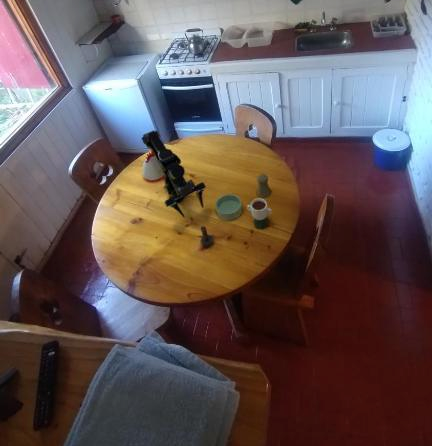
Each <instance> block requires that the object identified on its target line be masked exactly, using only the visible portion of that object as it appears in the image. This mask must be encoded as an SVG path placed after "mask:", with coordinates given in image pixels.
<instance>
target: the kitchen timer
mask: <svg viewBox="0 0 432 446" xmlns="http://www.w3.org/2000/svg"><path fill="white" fill-rule="evenodd" d="M141 167H142V176H143V179H144V181H146V182H148V183H157V182H160V181H162V180H165V175H164V173H163V171H162V169H161V167H160V165H159V163H158V161H157V159H156V157H155V155H154V153H153V151H152V150H150V152H148V153H146V156H145V159H144V161H143V163H142V164H141Z"/></svg>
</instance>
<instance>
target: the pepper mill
mask: <svg viewBox="0 0 432 446" xmlns="http://www.w3.org/2000/svg"><path fill="white" fill-rule="evenodd" d="M268 181H269V177H268V175H267V174H265V173H260V174H258V175H257V177H256V182H257V183H258V184H257V195H258V196H259V197H260V198H266V197H269V196H270V195H271V189H270V187H269V183H268Z"/></svg>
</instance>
